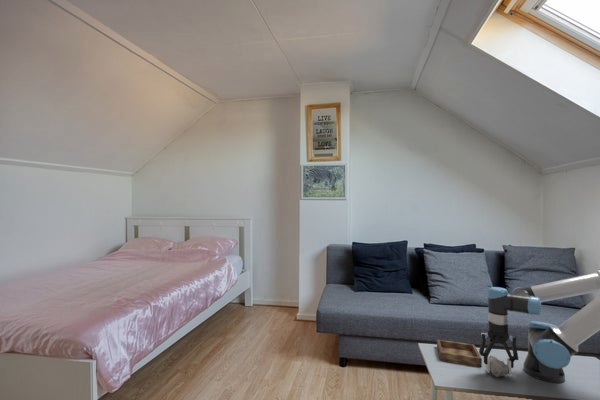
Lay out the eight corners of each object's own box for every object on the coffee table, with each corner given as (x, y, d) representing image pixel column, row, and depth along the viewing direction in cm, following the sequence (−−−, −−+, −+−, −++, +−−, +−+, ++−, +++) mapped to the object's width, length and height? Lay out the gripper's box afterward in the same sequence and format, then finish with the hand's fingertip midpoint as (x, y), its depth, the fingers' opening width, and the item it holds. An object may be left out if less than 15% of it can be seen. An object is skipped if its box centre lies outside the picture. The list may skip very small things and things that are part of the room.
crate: (474, 352, 165) (474, 344, 166) (481, 367, 150) (481, 358, 150) (436, 346, 171) (437, 339, 171) (440, 360, 156) (440, 352, 156)
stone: (480, 367, 148) (480, 354, 148) (496, 366, 149) (496, 354, 149) (494, 378, 138) (494, 365, 139) (512, 377, 139) (512, 364, 139)
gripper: (521, 322, 144) (521, 372, 143) (470, 317, 150) (471, 365, 149) (527, 327, 137) (528, 381, 136) (474, 322, 143) (474, 373, 142)
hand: (498, 372), depth 143 cm, fingers closed on stone, 8 cm apart
